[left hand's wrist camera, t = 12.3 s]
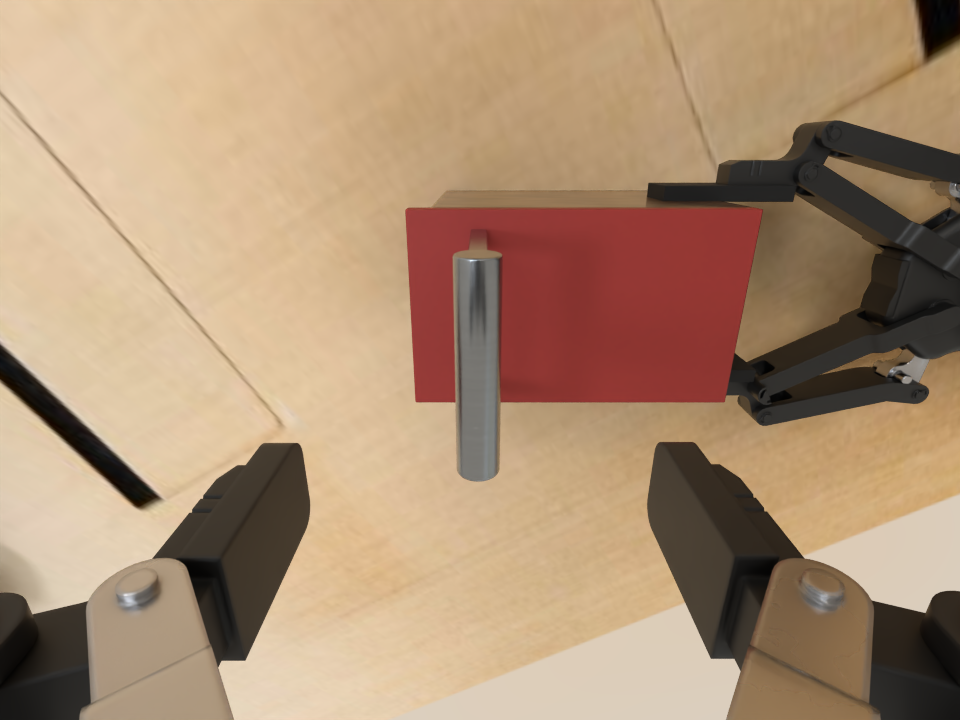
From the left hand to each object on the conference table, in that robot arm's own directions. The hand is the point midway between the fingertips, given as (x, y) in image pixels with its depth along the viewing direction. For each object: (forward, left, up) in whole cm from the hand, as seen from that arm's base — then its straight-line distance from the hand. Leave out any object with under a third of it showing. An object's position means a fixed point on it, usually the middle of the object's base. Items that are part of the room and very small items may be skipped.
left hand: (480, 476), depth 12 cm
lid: (-3, +3, -14) cm, 14 cm away
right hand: (-6, +7, -18) cm, 20 cm away
